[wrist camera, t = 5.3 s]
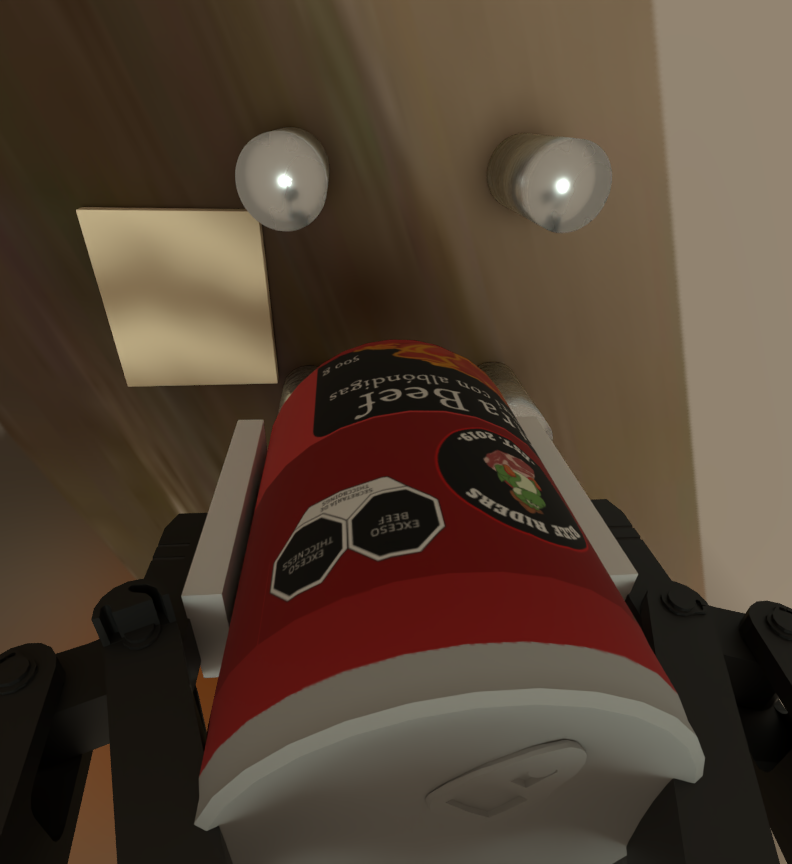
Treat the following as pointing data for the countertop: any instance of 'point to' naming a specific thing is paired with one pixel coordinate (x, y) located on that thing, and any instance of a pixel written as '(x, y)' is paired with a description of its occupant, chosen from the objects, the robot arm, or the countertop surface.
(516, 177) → the cylinder
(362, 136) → the countertop surface
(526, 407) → the cylinder
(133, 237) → the coaster
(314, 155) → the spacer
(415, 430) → the canned food
